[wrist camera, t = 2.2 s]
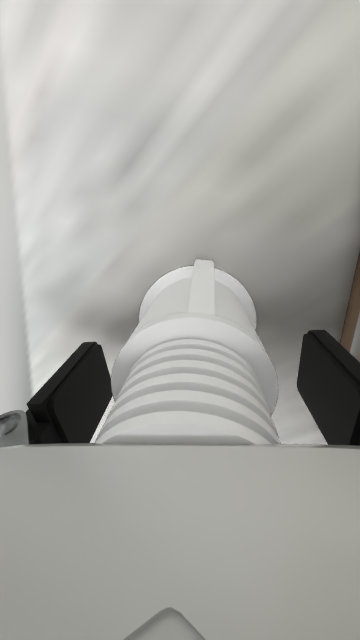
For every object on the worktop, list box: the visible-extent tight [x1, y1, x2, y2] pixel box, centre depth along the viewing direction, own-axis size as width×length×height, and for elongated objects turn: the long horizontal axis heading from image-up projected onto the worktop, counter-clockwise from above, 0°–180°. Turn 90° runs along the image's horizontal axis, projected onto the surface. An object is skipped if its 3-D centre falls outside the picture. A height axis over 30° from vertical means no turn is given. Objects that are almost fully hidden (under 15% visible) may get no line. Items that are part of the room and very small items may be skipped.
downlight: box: [95, 259, 281, 444], centre depth 9 cm, size 8×7×10 cm
